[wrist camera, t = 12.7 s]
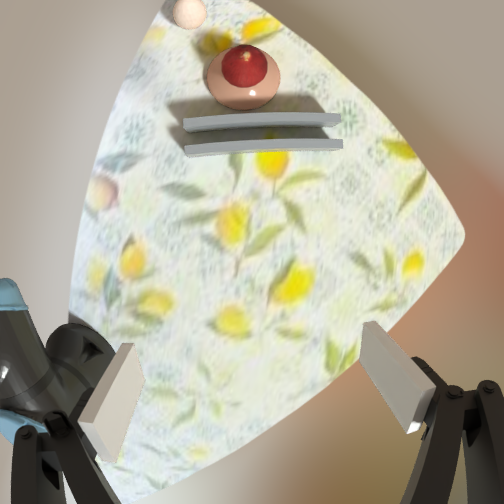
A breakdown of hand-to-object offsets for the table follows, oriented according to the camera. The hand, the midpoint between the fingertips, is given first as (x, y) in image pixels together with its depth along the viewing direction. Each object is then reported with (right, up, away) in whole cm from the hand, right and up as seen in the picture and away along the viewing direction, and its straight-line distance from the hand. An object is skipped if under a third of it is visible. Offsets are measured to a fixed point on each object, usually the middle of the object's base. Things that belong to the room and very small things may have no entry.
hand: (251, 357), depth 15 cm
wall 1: (+2, +20, +23) cm, 30 cm away
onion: (-1, +30, +19) cm, 36 cm away
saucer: (-1, +30, +20) cm, 36 cm away
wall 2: (+1, +23, +22) cm, 32 cm away
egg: (-9, +40, +17) cm, 44 cm away
